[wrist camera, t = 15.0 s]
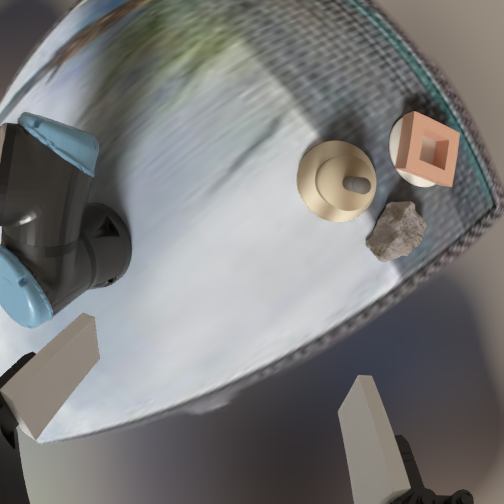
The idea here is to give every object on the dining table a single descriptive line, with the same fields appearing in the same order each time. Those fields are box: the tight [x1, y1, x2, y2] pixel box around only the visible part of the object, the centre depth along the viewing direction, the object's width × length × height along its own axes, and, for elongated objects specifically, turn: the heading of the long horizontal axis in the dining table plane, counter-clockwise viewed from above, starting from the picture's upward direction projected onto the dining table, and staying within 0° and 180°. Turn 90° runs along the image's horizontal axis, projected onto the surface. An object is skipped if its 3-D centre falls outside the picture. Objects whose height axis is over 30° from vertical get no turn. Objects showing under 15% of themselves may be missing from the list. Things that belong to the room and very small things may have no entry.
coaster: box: [389, 117, 436, 187], centre depth 36 cm, size 12×12×1 cm
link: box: [395, 111, 460, 187], centre depth 34 cm, size 9×9×4 cm
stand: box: [297, 141, 376, 222], centre depth 33 cm, size 12×12×13 cm
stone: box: [366, 201, 426, 262], centre depth 38 cm, size 8×10×6 cm
